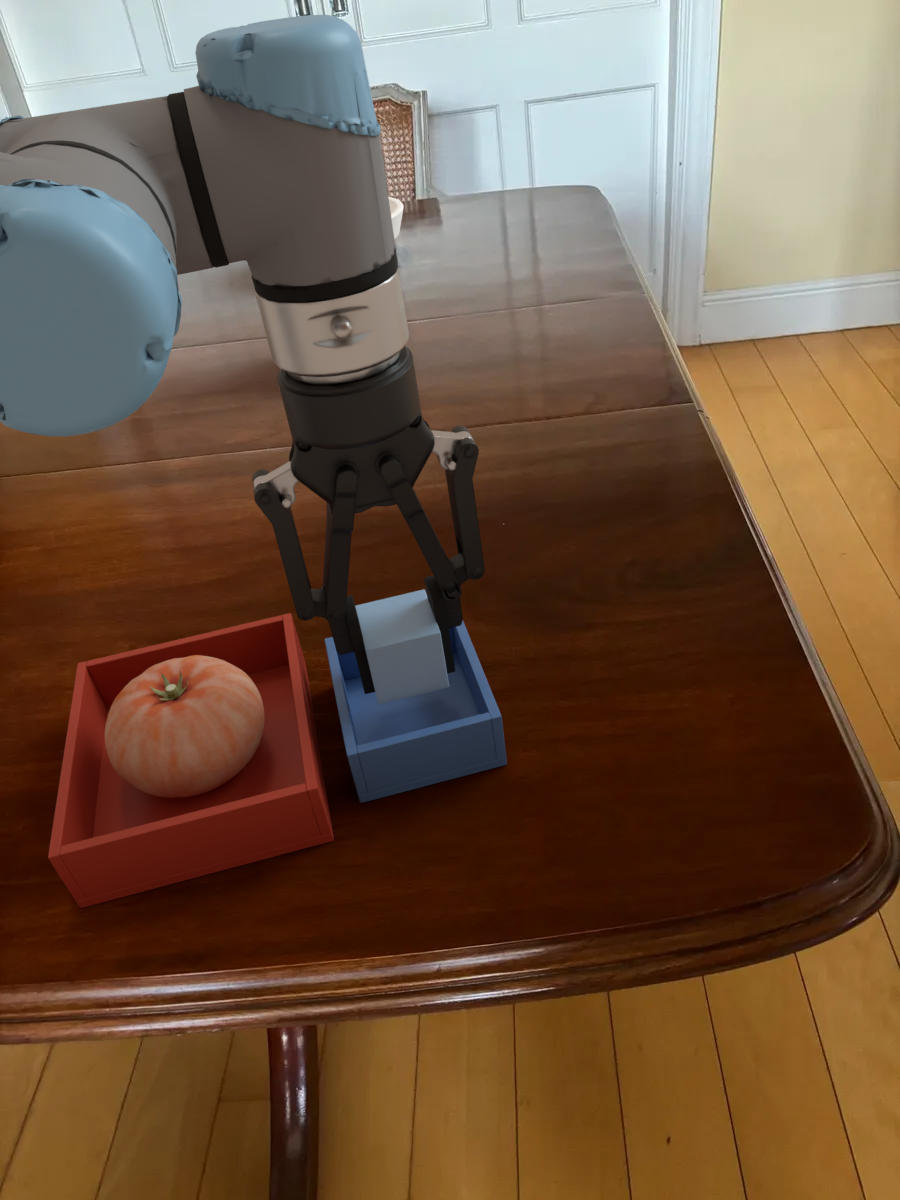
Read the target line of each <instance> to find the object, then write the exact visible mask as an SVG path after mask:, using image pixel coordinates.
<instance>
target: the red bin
mask: <svg viewBox="0 0 900 1200" xmlns="http://www.w3.org/2000/svg"><path fill="white" fill-rule="evenodd" d="M303 652H304V651H303V649H302V645H301V642H300V639H299V636H298V632H297V629H296V625H295V622H294V619H293V616H292V613H291V612H289V613H284V614H280V615H276V616H271V617H267V618H263V619H259V620H255V621H250V622H246V623H242V624H237V625H233V626H229V627H226V628H221V629H217V630H212V631H209V632H204V633H199V634H195V635H192V636H191V635H190V636H187V637H182V638H177V639H175V640H170V641H167V642H161V643H158V644H153V645H148V646H145V647H140V648H136V649H132V650H128V651H123V652H119V653H115V654H110V655H107V656H103V657H98V658H94V659H90V660H86V661H81V662H78V663H77V666H76V672H75V679H74V685H73V691H72V698H71V705H70V710H69V717H68V724H67V732H66V737H65V742H64V743H65V744H64V751H63V759H62V764H61V768H60V769H61V770H60V777H59V784H58V789H57V796H56V803H55V808H54V809H55V810H54V815H53V822H52V827H51V834H50V835H51V836H50V842H49V847H48V855H47V859H48V861H49V862H50V864H51V865H52V867H53V868H54V870H55V871H56V873H57V874H58V876H59V878H60V879H61V881H62V882H63V884H64V886H65V887H66V889H67V890H68V891H69V893H70V895H71V896H72V898H73V899H74V901H75V902H76V904H77V906H78V907H79V908H80V909H83V908H87V907H91V906H95V905H98V904H103V903H105V902H109V901H110V902H111V901H112V900H117V899H120V898H124V897H129V896H132V895H135V894H139V893H144V892H147V891H151V890H154V889H158V888H163V887H165V886H169V885H174V884H177V883H181V882H185V881H189V880H192V879H195V878H200V877H203V876H207V875H210V874H215V873H218V872H222V871H225V870H229V869H233V868H237V867H240V866H245V865H248V864H252V863H256V862H259V861H263V860H267V859H270V858H274V857H278V856H283V855H286V854H290V853H293V852H297V851H301V850H305V849H308V848H312V847H315V846H319V845H323V844H327V843H330V842H334V841H335V838H334V837H335V836H334V829H333V824H332V818H331V812H330V805H329V800H328V793H327V787H326V780H325V775H324V774H325V773H324V769H323V763H322V757H321V756H322V755H321V750H320V744H319V738H318V731H317V726H316V719H315V713H314V706H313V700H312V695H311V688H310V681H309V676H308V670H307V663H306V660H305V657H304V653H303ZM193 655H201V656H208V657H213V658H217V659H221V660H224V661H226V662H228V663H230V664H232V665H234V666H236V667H237V668H239V669H241V670H242V671H244V672H245V673H246V674H247V675H248V676H249V677H250V678H251V680H252V681H253V682H254V684H255V685H256V687H257V689H258V691H259V693H260V695H261V698H262V702H263V707H264V729H263V734H262V738H261V741H260V743H259V746H258V748H257V750H256V752H255V753H254V755H253V757H252V758H251V759H250V761H249V762H248V763H247V764H246V766H245V767H244V768H243V769H242V770H241V771H240V772H238V773H237V774H236V775H235V776H234V777H233V778H231V779H230V780H228V781H227V782H225V783H224V784H222V785H221V786H219V787H217V788H214V789H212V790H210V791H208V792H205V793H201V794H198V795H195V796H189V797H177V798H168V797H159V796H154V795H150V794H147V793H145V792H143V791H140V790H139V789H137V788H135V787H134V786H132V785H131V784H129V783H128V782H126V781H125V780H124V779H123V778H122V777H121V776H119V775H118V774H117V772H116V771H115V770H114V768H113V767H112V765H111V763H110V760H109V757H108V754H107V750H106V745H105V725H106V721H107V718H108V714H109V711H110V708H111V706H112V704H113V702H114V700H115V698H116V697H117V696H118V694H119V693H120V692H121V691H122V690H123V688H124V687H125V686H126V685H127V684H128V683H129V682H130V681H131V680H133V679H134V678H136V677H138V676H139V675H141V674H142V673H143V672H144V671H145V670H147V669H148V668H150V667H152V666H153V665H156V664H159V663H161V662H164V661H167V660H170V659H174V658H184V657H188V656H193Z"/></svg>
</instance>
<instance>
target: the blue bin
mask: <svg viewBox="0 0 900 1200" xmlns="http://www.w3.org/2000/svg"><path fill="white" fill-rule="evenodd" d="M449 634H450V640H451V646H452V653H453V659H454V665H455V672H452V673H448V674H447V675H448V682H449V687H448V688H444V689H441V690H437V691H433V692H429V693H425V694H421V695H417V696H413V697H409V698H405V699H401V700H397V701H393V702H389V703H385V704H381V705H379V704H378V701H377V697H376V693H375V692H372V693H368V694H365V693H364V689H363V685H362V681H361V676H360V672H359V668H358V664H357V660H356V656H355V652H352V653H348V654H344V655H340V654H339V653H338V652H337V651H336V648H335V644H334V640H333V637H332V636H330V637H325V638H324V644H325V651H326V655H327V660H328V661H327V662H328V666H329V671H330V677H331V681H332V687H333V691H334V696H335V702H336V707H337V711H338V717H339V722H340V727H341V733H342V737H343V743H344V749H345V753H346V757H347V761H348V766H349V769H350V772H351V776H352V780H353V784H354V786H355V787H354V788H355V791H356V794H357V797H358V802H359V803H360V804H363V803H367V802H372V801H375V800H378V799H381V798H385V797H390V796H393V795H397V794H401V793H405V792H409V791H412V790H417V789H420V788H423V787H428V786H431V785H435V784H439V783H443V782H446V781H451V780H455V779H458V778H462V777H465V776H469V775H473V774H477V773H481V772H485V771H489V770H492V769H496V768H500V767H504V766H507V764H508V761H507V759H508V758H507V752H506V751H507V750H506V743H505V733H504V724H503V717H502V713H501V712H500V709H499V706H498V703H497V701H496V699H495V697H494V694H493V691H492V689H491V687H490V684H489V682H488V679H487V677H486V674H485V672H484V669H483V667H482V664H481V662H480V659H479V657H478V654H477V652H476V649H475V647H474V644H473V642H472V639H471V637H470V634H469V632H468V629H467V627H466V625H465V622H464V620H463V621H462V624H461V626H457V627H453V628H449Z"/></svg>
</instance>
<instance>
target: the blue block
mask: <svg viewBox="0 0 900 1200" xmlns="http://www.w3.org/2000/svg"><path fill="white" fill-rule="evenodd" d="M355 607H356V611H357V615H358V619H359V623H360V628H361V632H362V636H363V642H364V646H365V651H366V655H367V659H368V663H369V668H370V672H371V676H372V680H373V685H374V689H375V693H376V697H377V701H378V704H379V705H381V704H385V703H389V702H393V701H397V700H401V699H405V698H409V697H413V696H417V695H421V694H425V693H429V692H433V691H437V690H441V689H444V688H448V687H449V682H448V675H447V669H446V663H445V657H444V651H443V645H442V639H441V633H440V630H439V627H438V624H437V622H436V620H435V617H434V614H433V612H432V609H431V606H430V603H429V601H428V597H427V591H426V589H424V588H423V589H420V590H415V591H411V592H407V593H402V594H399V595H394V596H390V597H385V598H381V599H377V600H374V601H370V602H369V601H368V602H366V603H365V602H364V603H361V604H355Z"/></svg>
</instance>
